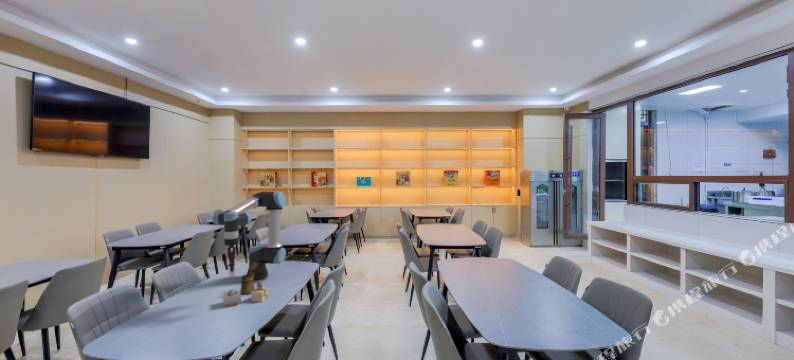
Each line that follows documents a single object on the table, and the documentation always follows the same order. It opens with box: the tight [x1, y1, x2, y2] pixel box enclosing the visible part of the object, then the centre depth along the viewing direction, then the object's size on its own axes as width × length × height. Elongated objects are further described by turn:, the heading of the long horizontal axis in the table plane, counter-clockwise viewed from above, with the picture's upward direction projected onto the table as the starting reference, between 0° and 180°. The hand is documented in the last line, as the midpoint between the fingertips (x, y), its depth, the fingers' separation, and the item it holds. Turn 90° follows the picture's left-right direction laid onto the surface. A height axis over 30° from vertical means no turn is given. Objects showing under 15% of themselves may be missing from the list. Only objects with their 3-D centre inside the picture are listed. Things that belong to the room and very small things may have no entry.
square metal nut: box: [222, 289, 242, 306], centre depth 182 cm, size 9×9×4 cm
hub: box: [224, 288, 240, 307], centre depth 182 cm, size 7×7×8 cm
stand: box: [250, 280, 269, 303], centre depth 189 cm, size 7×7×11 cm
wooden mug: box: [239, 262, 258, 296], centre depth 202 cm, size 9×14×18 cm, turn 170°
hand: (231, 273), depth 182 cm, fingers open, 13 cm apart
